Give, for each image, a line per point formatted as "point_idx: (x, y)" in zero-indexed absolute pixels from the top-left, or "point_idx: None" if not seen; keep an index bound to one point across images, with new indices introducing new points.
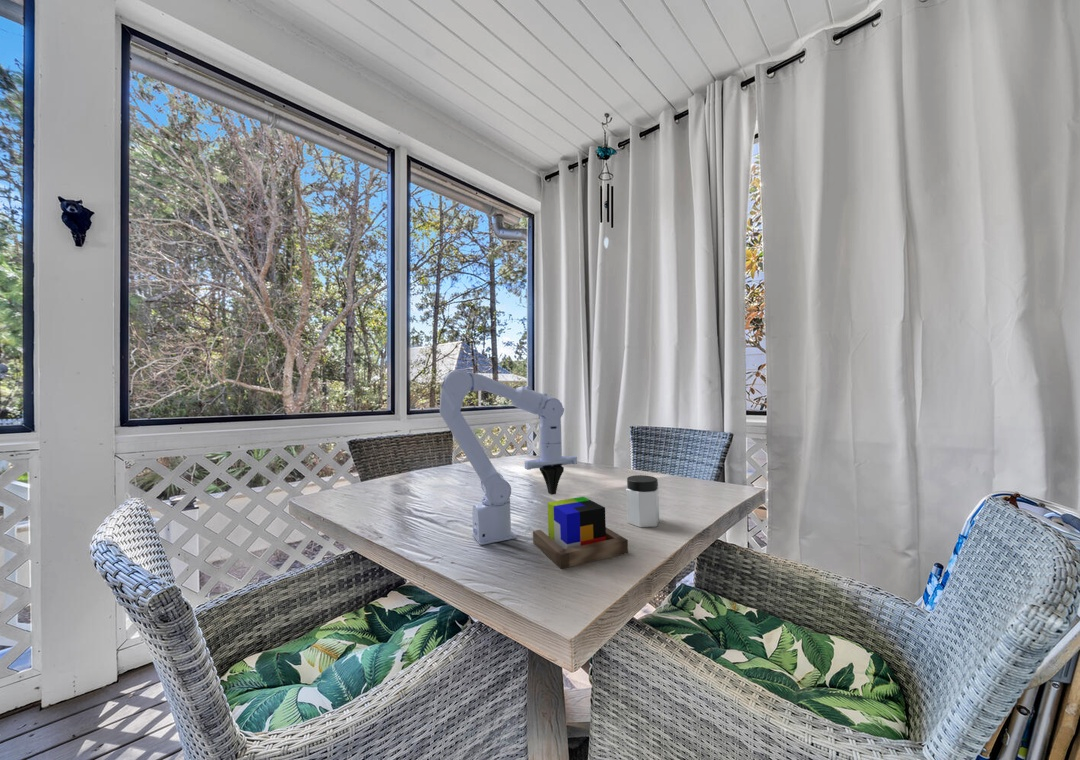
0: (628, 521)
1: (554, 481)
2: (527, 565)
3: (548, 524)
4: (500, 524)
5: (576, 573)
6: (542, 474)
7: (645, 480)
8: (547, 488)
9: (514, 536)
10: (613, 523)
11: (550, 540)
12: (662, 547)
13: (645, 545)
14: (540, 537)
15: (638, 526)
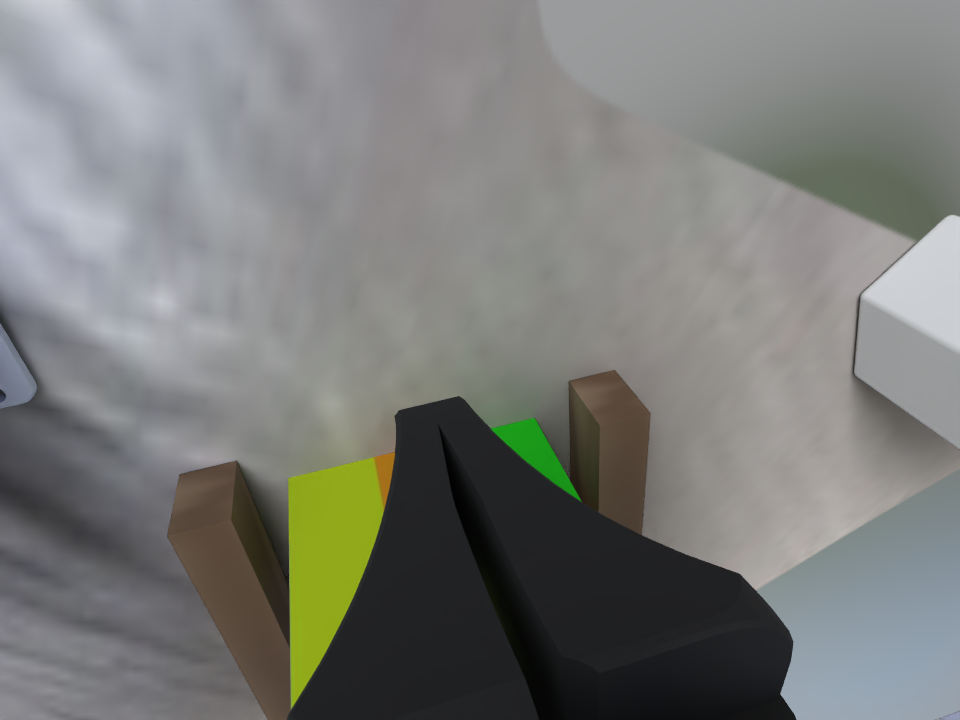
0: (866, 309)
1: (499, 620)
2: (129, 676)
3: (290, 575)
4: None
5: None
6: (345, 628)
7: None
8: (395, 449)
9: (14, 397)
10: (795, 274)
11: (271, 653)
12: (751, 564)
13: (714, 545)
14: (214, 620)
15: (855, 366)
